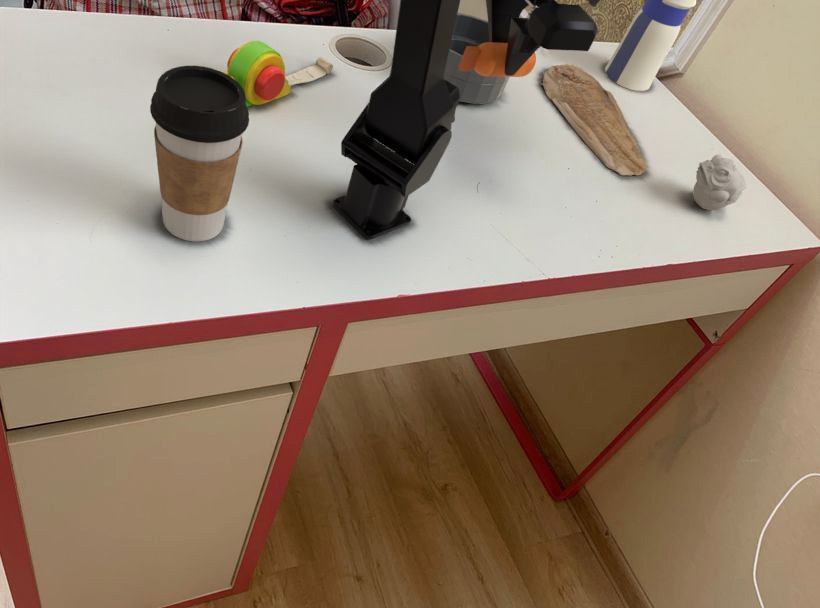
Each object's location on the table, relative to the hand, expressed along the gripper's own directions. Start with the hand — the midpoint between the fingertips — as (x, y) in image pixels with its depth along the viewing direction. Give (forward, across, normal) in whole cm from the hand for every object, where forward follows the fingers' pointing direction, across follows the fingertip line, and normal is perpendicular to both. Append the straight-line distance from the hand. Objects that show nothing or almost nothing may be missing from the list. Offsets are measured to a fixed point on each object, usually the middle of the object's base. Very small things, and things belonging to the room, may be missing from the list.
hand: (501, 65), depth 82 cm
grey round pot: (+12, +15, -5) cm, 20 cm away
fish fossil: (+12, +6, -24) cm, 27 cm away
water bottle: (+12, +18, -37) cm, 43 cm away
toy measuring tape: (+11, +12, +23) cm, 28 cm away
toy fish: (+1, 0, 0) cm, 1 cm away
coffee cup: (+11, -12, +37) cm, 40 cm away
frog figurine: (+12, -13, -30) cm, 34 cm away
